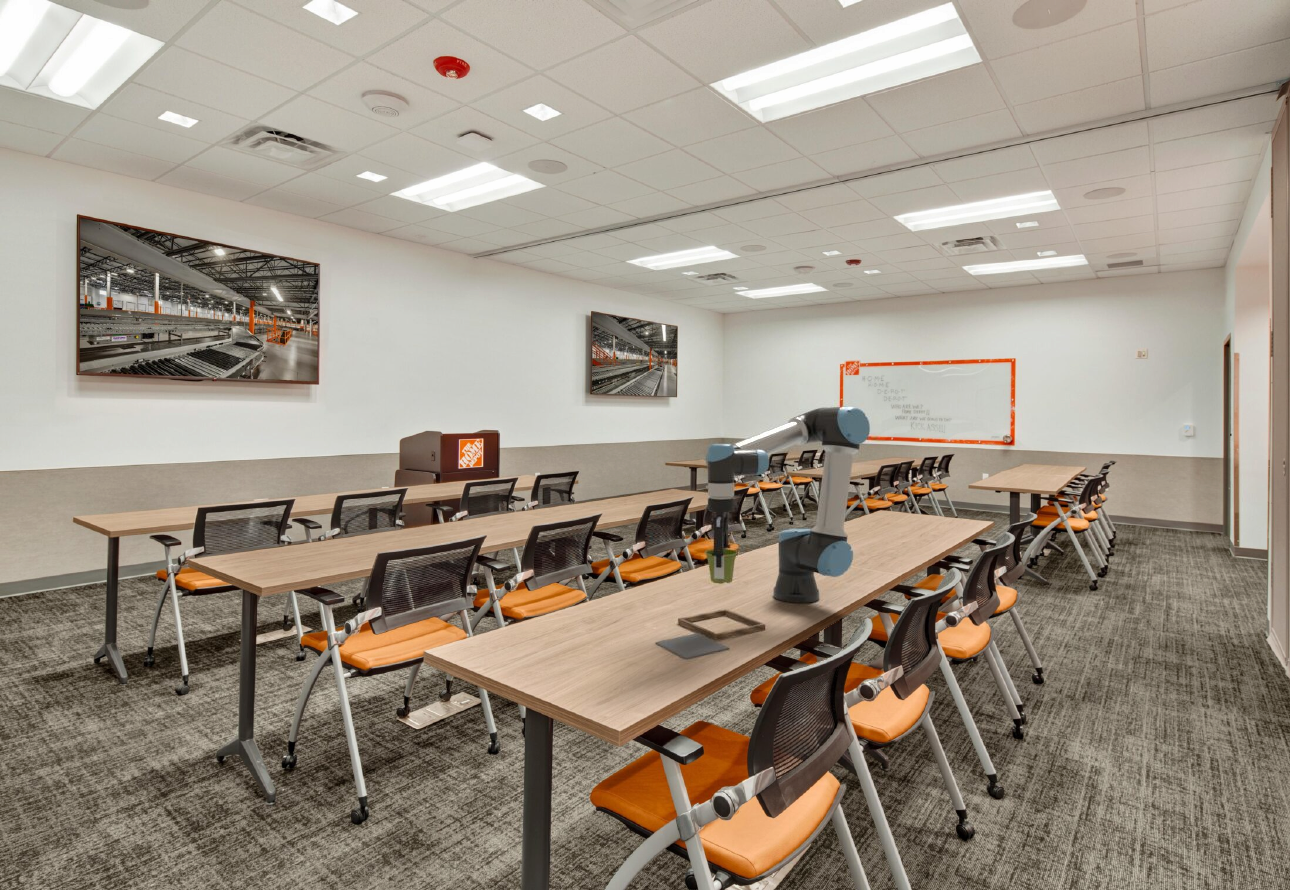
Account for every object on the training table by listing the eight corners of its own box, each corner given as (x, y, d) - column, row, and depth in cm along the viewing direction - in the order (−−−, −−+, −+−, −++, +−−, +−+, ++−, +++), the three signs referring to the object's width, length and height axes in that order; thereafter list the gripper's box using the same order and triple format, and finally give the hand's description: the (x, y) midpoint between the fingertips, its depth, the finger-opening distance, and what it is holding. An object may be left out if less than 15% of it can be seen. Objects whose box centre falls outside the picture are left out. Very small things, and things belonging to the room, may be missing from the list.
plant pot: (700, 583, 187) (699, 553, 187) (712, 576, 196) (712, 547, 195) (730, 587, 183) (730, 556, 182) (742, 579, 191) (741, 550, 191)
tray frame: (725, 613, 202) (725, 608, 202) (765, 629, 187) (765, 624, 187) (678, 623, 193) (678, 618, 192) (715, 640, 177) (715, 635, 177)
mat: (697, 634, 183) (697, 632, 183) (729, 649, 171) (729, 647, 171) (655, 643, 175) (655, 642, 175) (685, 659, 163) (685, 658, 163)
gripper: (712, 492, 200) (713, 565, 201) (702, 501, 178) (703, 582, 179) (737, 493, 198) (737, 566, 199) (730, 502, 177) (730, 584, 178)
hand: (721, 574), depth 189 cm, fingers closed on plant pot, 9 cm apart
